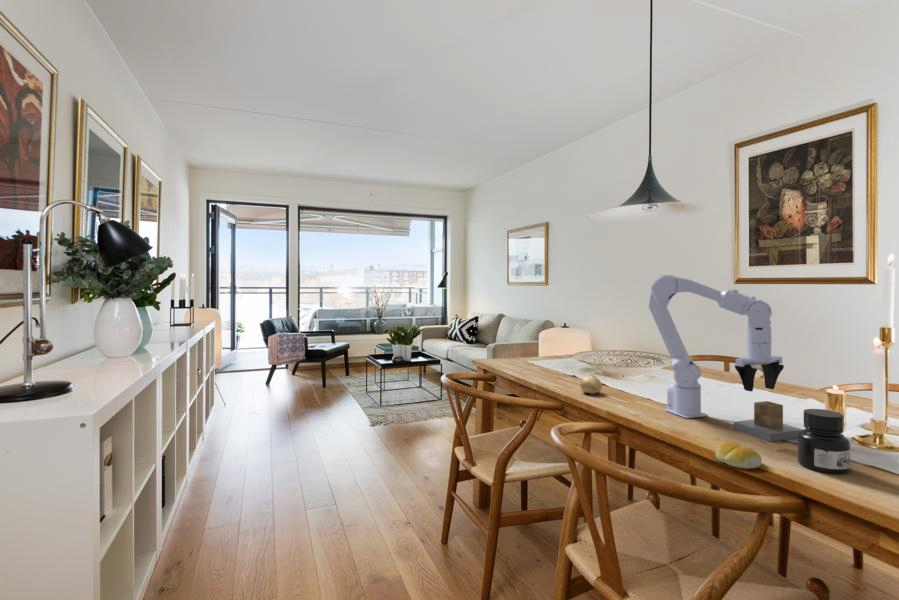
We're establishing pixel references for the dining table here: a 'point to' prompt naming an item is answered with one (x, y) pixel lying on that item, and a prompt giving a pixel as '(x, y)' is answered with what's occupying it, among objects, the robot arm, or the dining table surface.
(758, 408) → the walnut block
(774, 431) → the slate base
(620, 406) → the dining table surface
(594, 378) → the onion
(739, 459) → the bread roll
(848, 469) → the ink bottle
